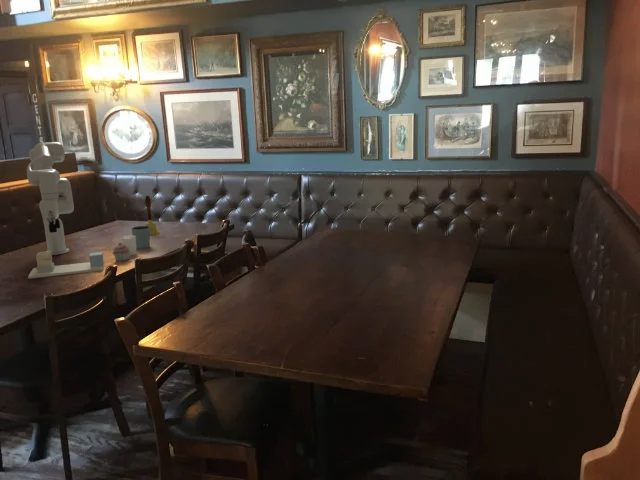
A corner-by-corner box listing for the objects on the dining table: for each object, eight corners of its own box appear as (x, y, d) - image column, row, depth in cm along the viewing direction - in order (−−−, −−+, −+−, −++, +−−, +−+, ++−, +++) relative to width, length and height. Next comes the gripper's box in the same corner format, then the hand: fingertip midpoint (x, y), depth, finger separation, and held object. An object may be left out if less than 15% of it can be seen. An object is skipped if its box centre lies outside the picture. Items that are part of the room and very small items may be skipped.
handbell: (146, 231, 360) (142, 194, 354) (164, 231, 358) (160, 194, 352) (138, 235, 348) (133, 197, 342) (156, 235, 346) (152, 197, 340)
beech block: (39, 263, 271) (37, 252, 270) (52, 262, 273) (50, 251, 272) (37, 267, 266) (35, 255, 264) (51, 265, 268) (49, 254, 266)
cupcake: (109, 262, 287) (107, 244, 285) (121, 257, 296) (119, 239, 293) (123, 263, 284) (121, 245, 281) (135, 258, 292) (133, 240, 290)
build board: (33, 270, 275) (32, 262, 274) (104, 262, 286) (103, 255, 285) (28, 278, 261) (27, 270, 260) (103, 270, 272) (101, 262, 271)
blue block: (91, 264, 279) (89, 253, 278) (103, 262, 281) (102, 251, 280) (90, 267, 274) (89, 255, 272) (103, 265, 276) (101, 254, 274)
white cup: (132, 256, 297) (130, 238, 295) (120, 255, 299) (117, 238, 297) (140, 252, 305) (138, 235, 303) (127, 252, 307) (125, 235, 304)
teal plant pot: (130, 248, 314) (127, 228, 312) (141, 244, 323) (139, 225, 321) (143, 249, 311) (141, 229, 308) (155, 245, 320) (153, 226, 317)
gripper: (45, 194, 270) (49, 227, 274) (38, 199, 254) (43, 234, 258) (61, 193, 272) (65, 226, 276) (55, 198, 256) (60, 233, 260)
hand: (55, 230), depth 267 cm, fingers open, 9 cm apart
